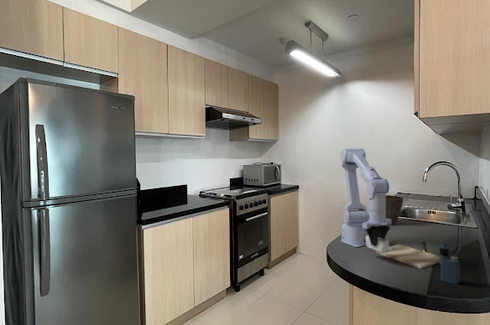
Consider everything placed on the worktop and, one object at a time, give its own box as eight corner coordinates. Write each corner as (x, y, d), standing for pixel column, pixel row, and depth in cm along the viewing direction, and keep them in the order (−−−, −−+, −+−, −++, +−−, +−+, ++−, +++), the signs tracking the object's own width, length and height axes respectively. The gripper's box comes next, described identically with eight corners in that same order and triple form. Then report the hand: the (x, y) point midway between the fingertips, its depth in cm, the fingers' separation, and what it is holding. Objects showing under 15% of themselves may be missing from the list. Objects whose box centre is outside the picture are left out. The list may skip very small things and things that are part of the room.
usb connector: (364, 245, 109) (364, 236, 109) (369, 244, 110) (369, 234, 110) (390, 255, 99) (390, 244, 98) (396, 253, 100) (396, 242, 100)
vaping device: (439, 277, 89) (439, 241, 89) (459, 282, 86) (460, 245, 86) (438, 280, 87) (439, 243, 87) (459, 285, 84) (459, 247, 84)
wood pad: (375, 252, 113) (375, 250, 113) (399, 246, 120) (399, 244, 120) (420, 268, 97) (420, 265, 97) (444, 260, 104) (444, 257, 104)
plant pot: (403, 222, 162) (403, 196, 162) (402, 228, 150) (402, 199, 149) (376, 219, 170) (376, 194, 170) (373, 224, 158) (373, 197, 157)
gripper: (374, 213, 98) (373, 250, 98) (398, 209, 105) (398, 244, 105) (357, 210, 104) (357, 245, 105) (382, 206, 111) (382, 239, 111)
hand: (377, 244), depth 105 cm, fingers closed on usb connector, 3 cm apart
